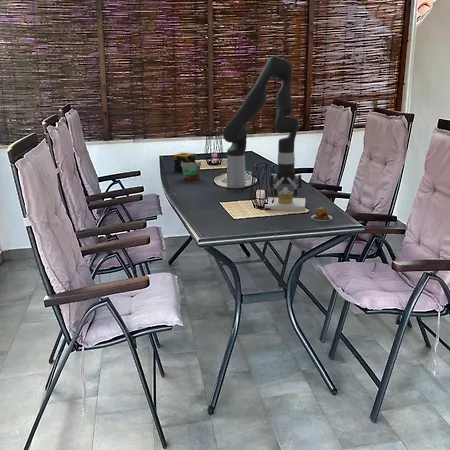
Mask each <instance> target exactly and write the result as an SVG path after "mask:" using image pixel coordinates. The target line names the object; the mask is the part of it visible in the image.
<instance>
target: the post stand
mask: <svg viewBox="0 0 450 450" xmlns="http://www.w3.org/2000/svg"><path fill="white" fill-rule="evenodd" d="M282 191H283V194H289V191H290V190H289V188H288V187H286V186H285V187H283V188H282ZM267 198H268V202H269V203H268V204H264V209H265V208H270V209H277V210H276V211H285V210H290V211H292V212H293V211H294V212H296V211H297V212H298V211H299V212H306V197H304V198H302V197H300V198H299V197H293V201H292V203H290V204H281V203H278V197H267ZM273 198H274V202H273V203H272V202H271V201H272V199H273Z"/></svg>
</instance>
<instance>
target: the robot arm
mask: <svg viewBox="0 0 450 450" xmlns="http://www.w3.org/2000/svg"><path fill="white" fill-rule="evenodd" d="M292 73H293V72H292V64H291V62H290V61H289V60H287V59H285V58H283V57H281V56H277V55H272V56H271V57H269V58H268V60H267V61H266V63H265V65H264V67H263V69H262V71H261V72H260V75H259V76H258V79H257V80H256V82H255V84H253V87H252V88H251V90H249V93H248V94H247V96H246V97H245V99H244V100H243V102H242V104H241V106H240V107H239V108H238V110H237V111H236V113H235V115H234V116H233V117H232V118H231V120H230V121H229V122H228V123H227V125H226V126H225V128H224V130H223V133H222V134H223V139H224V141H225V142H227V143H231V145H230V147H228V148H227V151H226V156H227V157H226V159H227V161H226V162H227V164H226V165H227V169H226V188H229V189H242V188H243V189H244V188H245V187H246V157H245V156H246V155H245V154H246V153H245V152H246V150H247V149H246V148H247V134H248V133H247V130H246V127H245V125H246V124H247V123H248V122H250V121H251V120H252V119H253V118H255V116H257V115H258V114H259V112H261V110H262V108H263V107H264V106H265V104H266V101H267V85H268V83H269V81H270V79H271V78H275V79H278V80H280V82H281V85H280V88H279V89H278V91H277V93H276V97H275V107H276V115H275V121H274V129H275V132H276V133H277V134H288V136H286V137H282V138H280V139H279V140H278V143H277V144H278V146H277V147H278V149H277V151H278V152H277V153H278V154H277V174H274V173H271V174H270V180H269V181H270V182H269V187H270V188H271V189H273V196H275V197H274V198H278V187H279V186H280V185H281V184H282V185H291V186H292V187H293V189H294V190H293V198H297V196H298V189H301V188H302V174H301V173H299V174H295V158H296V157H295V140H296V136H297V133H298V130H299V125H300V121H299V119H298V118H297V117H296V116H291V114H292V113H293V103H292V95H291V91H292ZM275 178H276V179H277V180H278V181H277V182H276V183H275V184H274V180H276V179H275ZM295 178H296V180H298V184H296V182H295V181H294V180H295Z"/></svg>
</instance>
